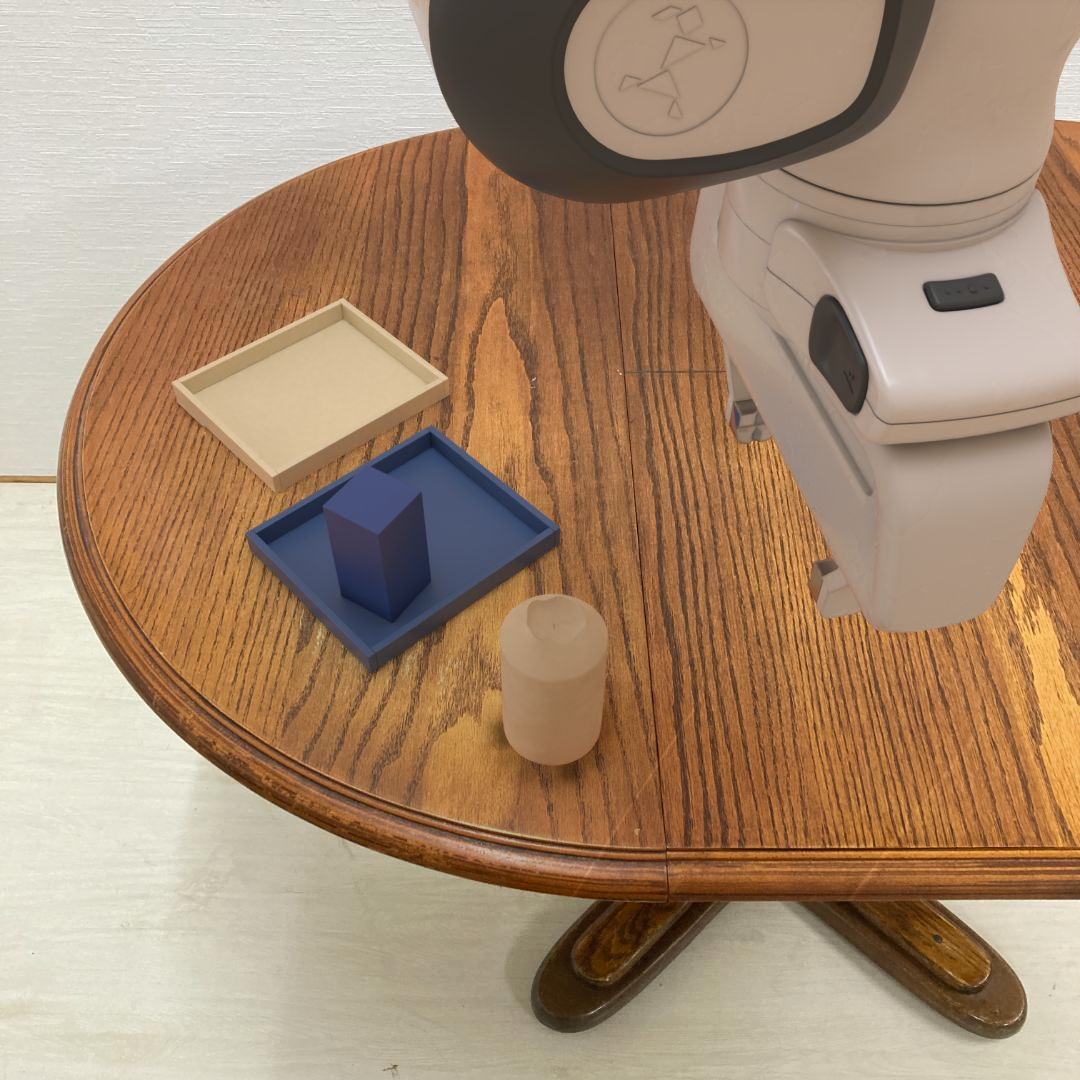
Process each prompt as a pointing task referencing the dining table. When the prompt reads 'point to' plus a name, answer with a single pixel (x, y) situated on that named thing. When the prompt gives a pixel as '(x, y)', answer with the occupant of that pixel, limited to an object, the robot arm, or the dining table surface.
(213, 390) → the cream tray
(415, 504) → the blue peg
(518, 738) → the candle
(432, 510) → the blue tray
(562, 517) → the dining table surface
